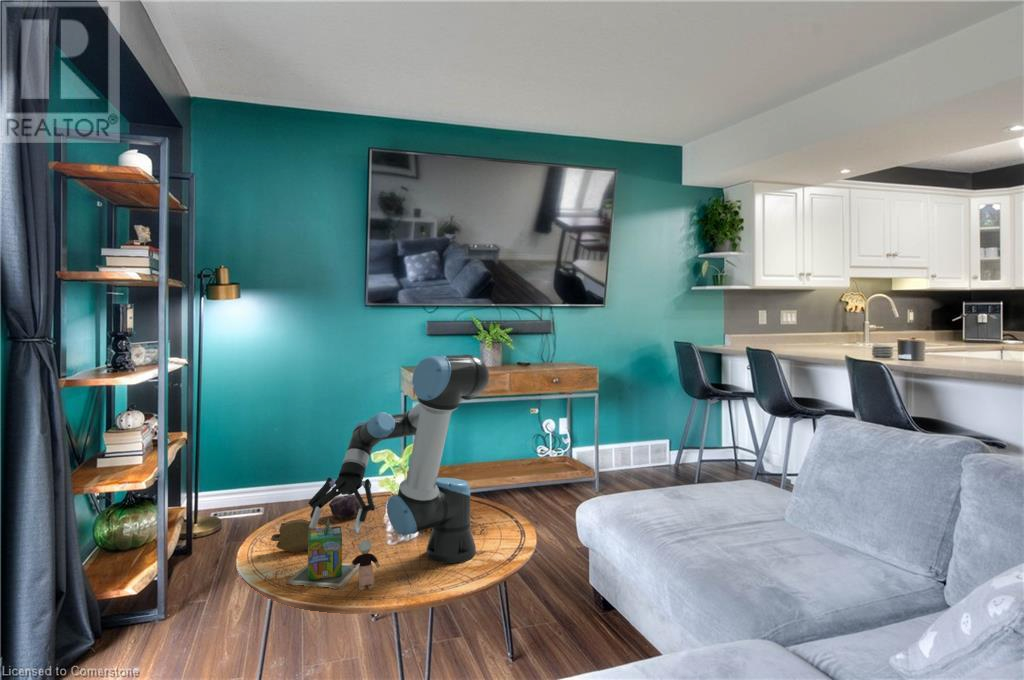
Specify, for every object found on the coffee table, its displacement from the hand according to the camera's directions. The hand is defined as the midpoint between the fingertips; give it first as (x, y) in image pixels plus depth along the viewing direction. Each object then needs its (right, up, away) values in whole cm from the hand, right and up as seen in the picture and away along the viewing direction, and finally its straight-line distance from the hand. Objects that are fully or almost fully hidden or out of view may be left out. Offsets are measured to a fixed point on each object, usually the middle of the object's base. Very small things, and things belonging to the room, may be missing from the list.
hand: (333, 530), depth 168 cm
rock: (-9, -10, +44) cm, 46 cm away
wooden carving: (-15, -11, +13) cm, 22 cm away
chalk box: (-1, -10, -5) cm, 12 cm away
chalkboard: (0, -11, -6) cm, 12 cm away
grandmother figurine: (+12, -11, -13) cm, 21 cm away
